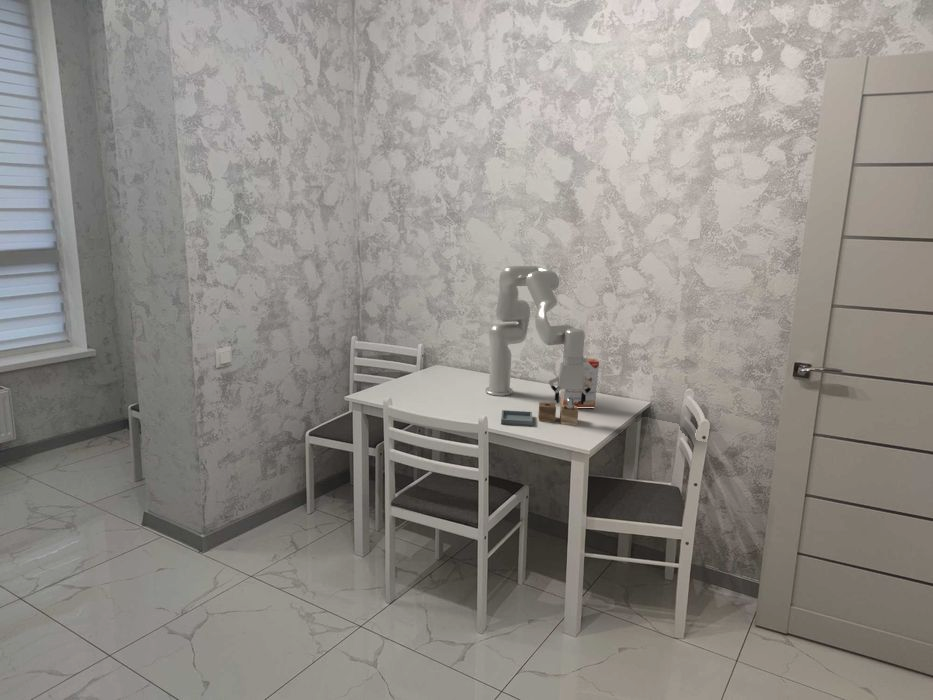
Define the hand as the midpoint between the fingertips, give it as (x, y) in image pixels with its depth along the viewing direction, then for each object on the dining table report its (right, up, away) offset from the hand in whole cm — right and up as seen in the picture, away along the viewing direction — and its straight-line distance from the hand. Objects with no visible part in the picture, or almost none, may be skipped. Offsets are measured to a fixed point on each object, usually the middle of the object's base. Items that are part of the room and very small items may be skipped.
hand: (569, 402), depth 252 cm
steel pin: (0, -7, +1) cm, 7 cm away
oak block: (0, -8, +2) cm, 8 cm away
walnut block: (-9, -7, +4) cm, 12 cm away
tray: (-21, -7, +1) cm, 22 cm away
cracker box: (+7, -4, +22) cm, 23 cm away
